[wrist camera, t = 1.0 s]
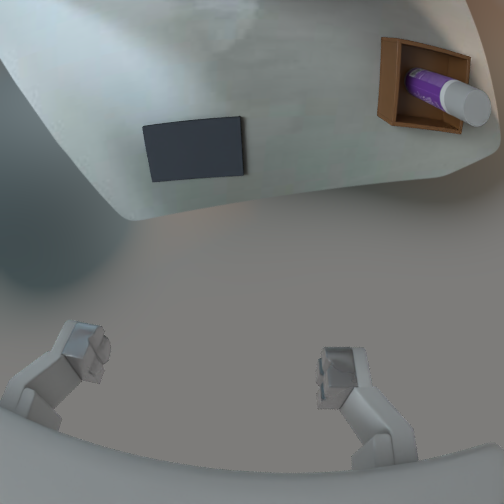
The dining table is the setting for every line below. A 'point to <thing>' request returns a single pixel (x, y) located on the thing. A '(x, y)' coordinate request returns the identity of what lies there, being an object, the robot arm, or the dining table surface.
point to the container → (449, 95)
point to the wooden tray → (403, 103)
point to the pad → (194, 149)
